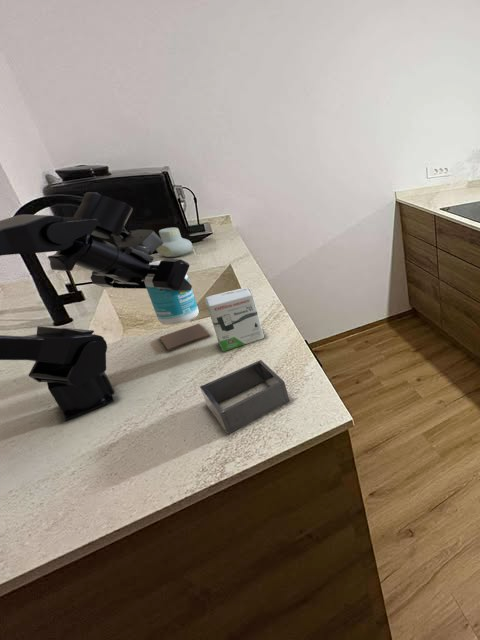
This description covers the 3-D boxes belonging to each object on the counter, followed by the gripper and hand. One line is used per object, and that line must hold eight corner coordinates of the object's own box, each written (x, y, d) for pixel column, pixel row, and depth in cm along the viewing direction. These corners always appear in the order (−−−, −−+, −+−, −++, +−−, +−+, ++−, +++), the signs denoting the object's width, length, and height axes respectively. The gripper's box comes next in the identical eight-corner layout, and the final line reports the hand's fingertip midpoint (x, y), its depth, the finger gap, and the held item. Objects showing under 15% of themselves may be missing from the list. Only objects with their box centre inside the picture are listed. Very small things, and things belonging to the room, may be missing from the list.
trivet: (169, 351, 84) (168, 349, 83) (160, 339, 88) (159, 336, 88) (210, 336, 89) (209, 334, 89) (199, 325, 94) (198, 323, 94)
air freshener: (198, 252, 145) (190, 227, 141) (177, 259, 138) (168, 233, 134) (177, 250, 148) (168, 225, 144) (155, 257, 141) (145, 231, 137)
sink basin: (227, 434, 61) (219, 413, 60) (207, 406, 68) (199, 386, 66) (289, 401, 68) (284, 381, 67) (266, 378, 75) (260, 359, 73)
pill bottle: (193, 322, 83) (174, 266, 78) (153, 328, 81) (130, 270, 76) (204, 308, 90) (186, 255, 85) (167, 313, 88) (147, 259, 83)
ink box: (222, 352, 83) (206, 306, 78) (218, 342, 86) (202, 297, 81) (265, 338, 88) (253, 293, 83) (260, 329, 92) (247, 285, 86)
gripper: (164, 221, 71) (225, 256, 86) (82, 219, 74) (154, 253, 88) (140, 275, 67) (207, 302, 82) (53, 271, 70) (134, 298, 84)
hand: (175, 287), depth 84 cm, fingers closed on pill bottle, 7 cm apart
